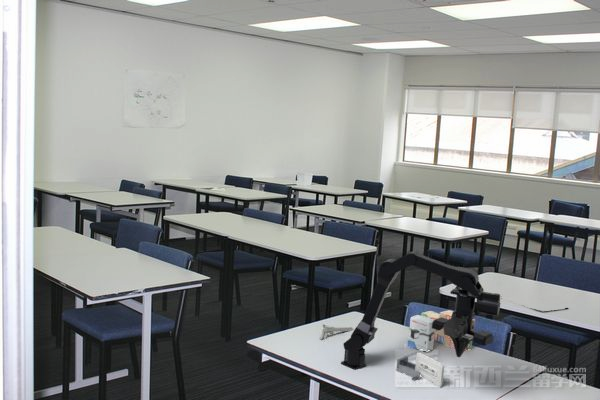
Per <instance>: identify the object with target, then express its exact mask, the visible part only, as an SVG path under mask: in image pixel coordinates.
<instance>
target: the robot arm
mask: <svg viewBox="0 0 600 400" xmlns="http://www.w3.org/2000/svg"><path fill="white" fill-rule="evenodd" d="M411 266H413V267H415V268H418V269H421V270H423V271H426V272H429V273H431V274H433V275H436V276H438V277H442V278H444V279H446V280H447V281H449V282H450V283H452V285H454V286H456V287H455V288H452V289H451V291H450V292H449V294H451V295H455V296H456V298H455V306H454V307H455V308H454V311H453V313H452V317H451V319H449V320H448V319H445V318H442V317H441V318H438V319H435V320H434V321H433V322H432V328H433V329H436V330H439V331H440V330H441V329H442V328H444V334H445V335H447V336H449V337H450V338H451V339H452V340H453V343H454V347H455V349H454V350H455V355H456V357H458V358H461V357H462V356H463V353H464V352H465V351H464V350H465V349H466V347H467V345H468V344H469V343H470V341H472V342H474V344H477V345H479V346H483V347H485V346H487V345H489V344H492V343H494V342H493V341H494V336H493V333H492V332H488V331H485V330H482V329H481V330H479V331H475V325H472V322H473V319H474V317H476V312H475V309H476V311H478V313H479V314H484V315H489V316H493V317H499V314H500V308H501V298H500V297H501V294H500V293H492V292H487V291H484V290H485V289H484V287H483V286H482V284H481V282H480V281H479V280H480V279H479V274H478V273H477V271H476V270H475V269H471V268H469V267H468V268H467V267H460V266H452V265H450V264H447V263H445V262H442V261H439V260H437V259H433V258H431V257H428V256H426V255H423V254H421V253H419V252H417V251H414V250H413V251H411V252H409V253H407V254H405V255H403V256H401V257H398V258H389V259H387V260H385V261H383V262H382V263H380V265H379V267H378V271H377V278H376V285H375V288H374V290H373V292H372V295H371V297H370V300H369V302H368V304H367V307H366V310H365V311H364V314H363V317H362V319H361V320H360V322H359V323H358V325H357V326H355V328H354V330H352V333H351V334H350V338H348V339H347V340H346V341H345V342H344V343H343V348H344V357H343V358H344V359H343V360H342V361H340V364H341V365H344V366H345V367H348V368H350V369H353V370H357V369H360V368H363V367H366V366H367V363H366V351H365V350H366V348H364V347H366V345H367V344H370V343H371V341H373V340H374V339H375V334H376V333H377V331H378V329H379V328H377V327H375V322H376V320H377V317H378V315H379V312H380V310H381V308H382V306H383V302H384V300H385V298H386V296H387V294H388V291H389V289H390V287H391V285H393V283H394V281H395V280H396V279H397V278H398V275H400V273H401V271H402V270H404V269H406V268H409V267H411ZM472 329H474V331H471V330H472Z"/></svg>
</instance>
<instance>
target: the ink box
mask: <svg viewBox="0 0 600 400" xmlns="http://www.w3.org/2000/svg"><path fill="white" fill-rule="evenodd" d="M433 321H434V320H433V319H430V318H427V317H423V316H421V314H416V315H413V316H411V317H410V319H409V329H408V330H409V331H408V338H407V339H408V341H407V347H409V346H410V347H409V348H411V347H413V348H412V349H414V348H417V349H423V350H426V351H428V350H432V351H433V350H434V342H435V341H434V334H435V329H433V328H432V322H433ZM417 349H416V350H417Z"/></svg>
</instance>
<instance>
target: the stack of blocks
mask: <svg viewBox="0 0 600 400" xmlns="http://www.w3.org/2000/svg"><path fill="white" fill-rule="evenodd" d="M453 312H454V311H453V310H449V309H448V310H444V311H440V312H439V313H438V312H436V311H432V310H428V311H424V312H421V313H420V316H423V317H427V318H430V319H433V320H435V319H438V318H441V317H442V318H445V319H448V320H449V319H451V317H452V313H453ZM475 324H476V319H475V318H473V322H472V325H474V326H475ZM471 331H474V332H475V328H474V329H472V330H471ZM434 342H437V343H440V344H441V345H443V346H446V345H447V347H449V348H451V347H452V348H451V349H453V348H454V349H453V350H455V347H454V343H453V340H452V339H451V338H450V337H449V336H447V335H445V334H444V328H442V329H441V330H440V331H439V330H436V329H435V334H434ZM472 347H473V340H472V341H470V343H469V344H468V345H467V347H466V349H465V350H464V352H467V351H469V350H468V349H471V350H472ZM466 350H467V351H466Z"/></svg>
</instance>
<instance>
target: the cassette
mask: <svg viewBox="0 0 600 400" xmlns="http://www.w3.org/2000/svg"><path fill="white" fill-rule="evenodd" d="M415 364H416V366H415V370H416V371H419V372H421V374H420V375H421V376H422V377H423V378H424V379H426V380H427V381H426V380H425V381H426V382H428V383H429V384H431V385H433V386H436V387H438V388H442V387H443V381H444V373H445V372H444V371H445V364H443V363H441V362H439V361H437V360H435V359H433V358H431V357H430V356H428V355H426V354H424V353H423V352H421V351H418V352H416V359H415ZM429 368H430V369H429ZM424 379H423V380H424Z"/></svg>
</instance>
